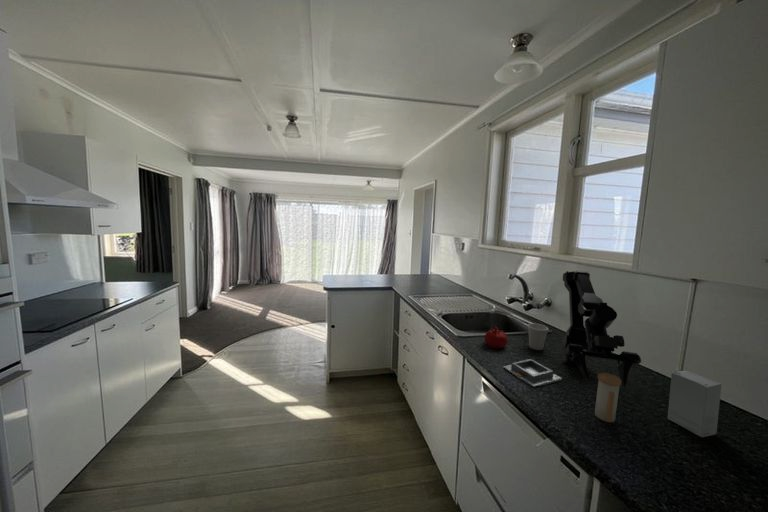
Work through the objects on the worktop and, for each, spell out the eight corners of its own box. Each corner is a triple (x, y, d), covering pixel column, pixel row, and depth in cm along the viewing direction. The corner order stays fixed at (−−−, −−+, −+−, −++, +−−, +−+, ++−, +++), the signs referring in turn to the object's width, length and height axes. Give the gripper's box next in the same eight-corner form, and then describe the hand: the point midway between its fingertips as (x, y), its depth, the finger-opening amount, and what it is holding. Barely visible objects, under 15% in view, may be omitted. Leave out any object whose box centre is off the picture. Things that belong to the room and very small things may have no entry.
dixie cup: (550, 350, 128) (552, 329, 127) (535, 352, 126) (537, 330, 125) (536, 342, 136) (538, 322, 135) (522, 344, 134) (523, 323, 133)
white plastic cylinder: (590, 408, 88) (595, 371, 87) (611, 413, 86) (616, 374, 85) (597, 421, 83) (602, 381, 81) (620, 426, 81) (625, 385, 79)
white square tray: (529, 362, 117) (530, 355, 117) (561, 380, 104) (562, 373, 104) (503, 368, 112) (503, 361, 111) (533, 387, 99) (534, 380, 99)
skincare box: (716, 435, 78) (725, 384, 76) (700, 438, 77) (709, 387, 75) (679, 414, 86) (686, 368, 84) (664, 417, 85) (671, 371, 83)
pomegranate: (510, 351, 127) (512, 331, 126) (488, 350, 127) (490, 330, 126) (501, 341, 137) (503, 323, 136) (481, 340, 137) (482, 322, 136)
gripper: (570, 319, 92) (576, 368, 83) (642, 328, 85) (657, 381, 76) (562, 334, 100) (567, 379, 91) (627, 343, 94) (639, 392, 85)
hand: (605, 383), depth 86 cm, fingers open, 9 cm apart
